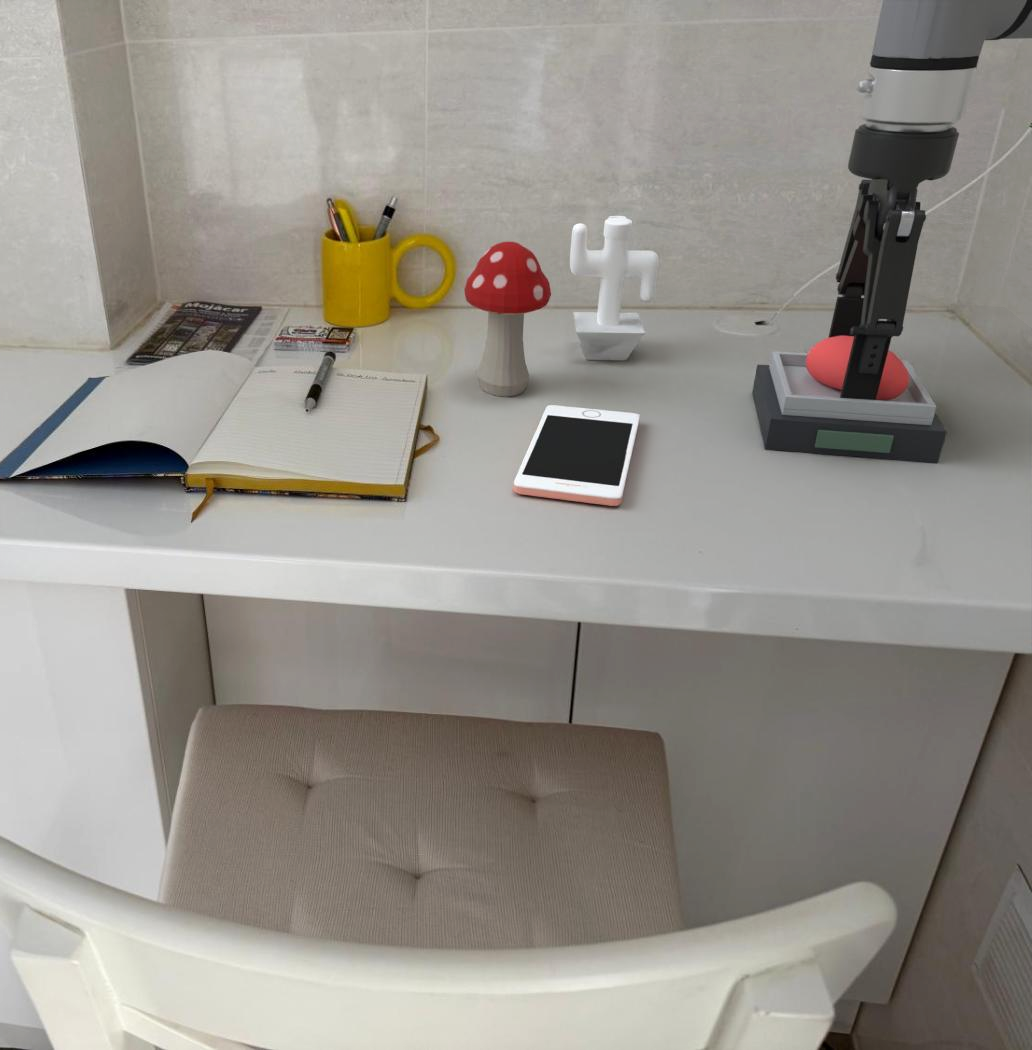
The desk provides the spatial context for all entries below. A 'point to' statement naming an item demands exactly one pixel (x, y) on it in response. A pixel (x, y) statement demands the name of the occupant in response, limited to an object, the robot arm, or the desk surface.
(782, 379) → the scale
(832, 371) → the stress ball
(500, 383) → the decorative mushroom
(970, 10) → the robot arm
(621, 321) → the figurine
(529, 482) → the cell phone
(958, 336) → the desk surface
